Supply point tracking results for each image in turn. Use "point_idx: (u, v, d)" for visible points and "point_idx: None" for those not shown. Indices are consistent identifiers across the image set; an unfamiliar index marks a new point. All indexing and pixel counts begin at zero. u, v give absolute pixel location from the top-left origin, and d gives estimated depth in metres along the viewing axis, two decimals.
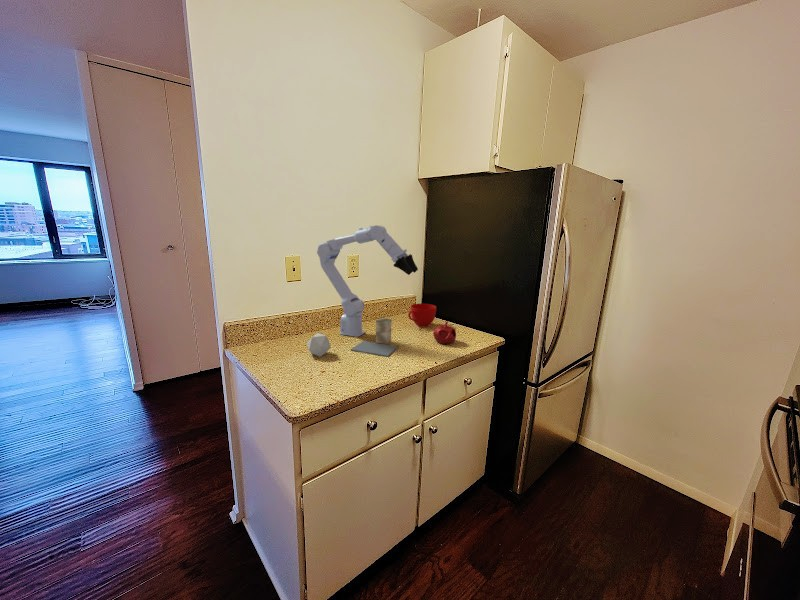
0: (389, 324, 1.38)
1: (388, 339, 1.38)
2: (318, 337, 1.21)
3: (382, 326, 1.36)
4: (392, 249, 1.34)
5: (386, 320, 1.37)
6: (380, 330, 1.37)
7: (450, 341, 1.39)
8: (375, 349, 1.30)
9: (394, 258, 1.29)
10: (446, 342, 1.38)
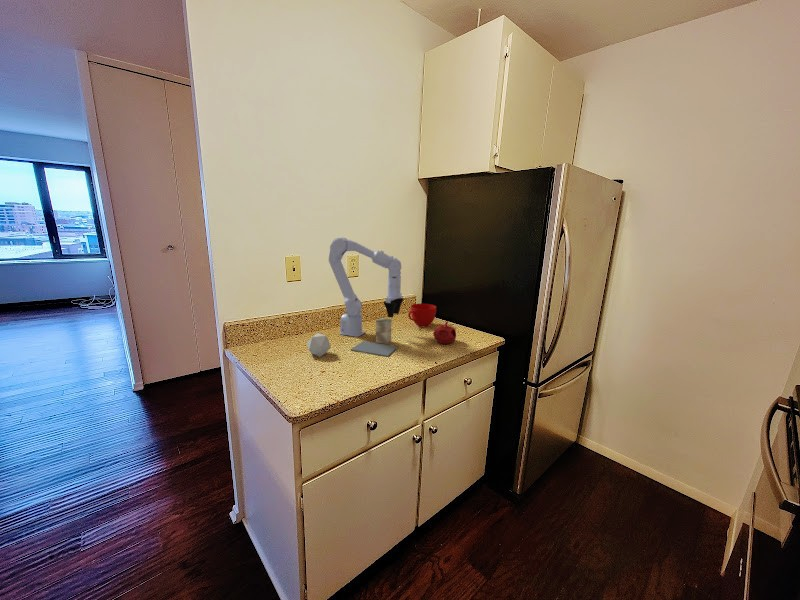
0: (389, 324, 1.38)
1: (388, 339, 1.38)
2: (318, 337, 1.21)
3: (382, 326, 1.36)
4: (393, 289, 1.43)
5: (386, 320, 1.37)
6: (380, 330, 1.37)
7: (450, 341, 1.39)
8: (375, 349, 1.30)
9: (388, 300, 1.40)
10: (446, 342, 1.38)
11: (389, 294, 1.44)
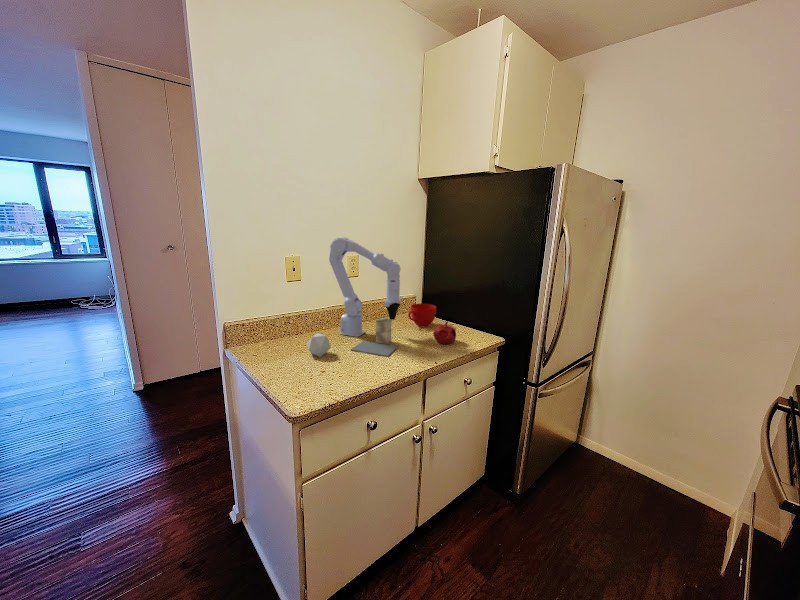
0: (389, 324, 1.38)
1: (388, 339, 1.38)
2: (318, 337, 1.21)
3: (382, 326, 1.36)
4: (392, 293, 1.42)
5: (386, 320, 1.37)
6: (380, 330, 1.37)
7: (450, 341, 1.39)
8: (375, 349, 1.30)
9: (387, 304, 1.39)
10: (446, 342, 1.38)
11: (388, 298, 1.43)
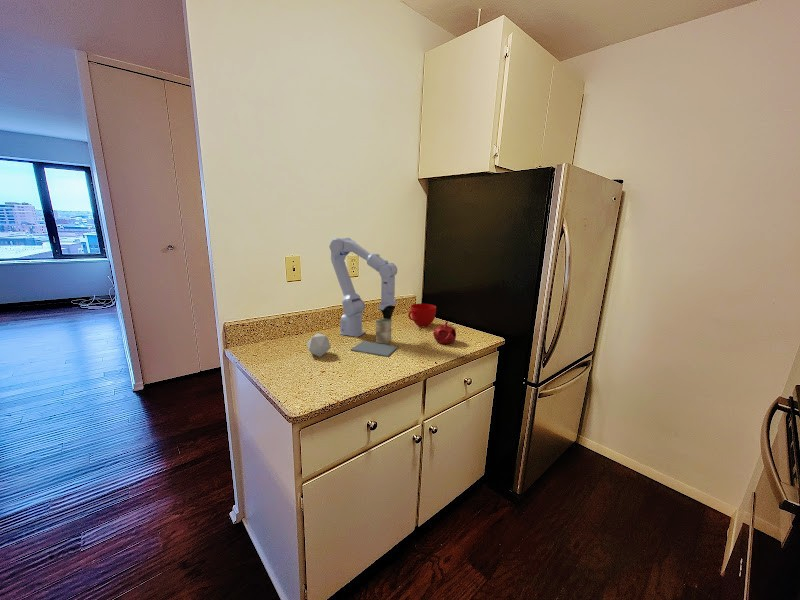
0: (389, 324, 1.38)
1: (388, 339, 1.38)
2: (318, 337, 1.21)
3: (382, 326, 1.36)
4: (386, 295, 1.37)
5: (386, 320, 1.37)
6: (380, 330, 1.37)
7: (450, 341, 1.39)
8: (375, 349, 1.30)
9: (381, 307, 1.33)
10: (446, 342, 1.38)
11: (382, 300, 1.38)
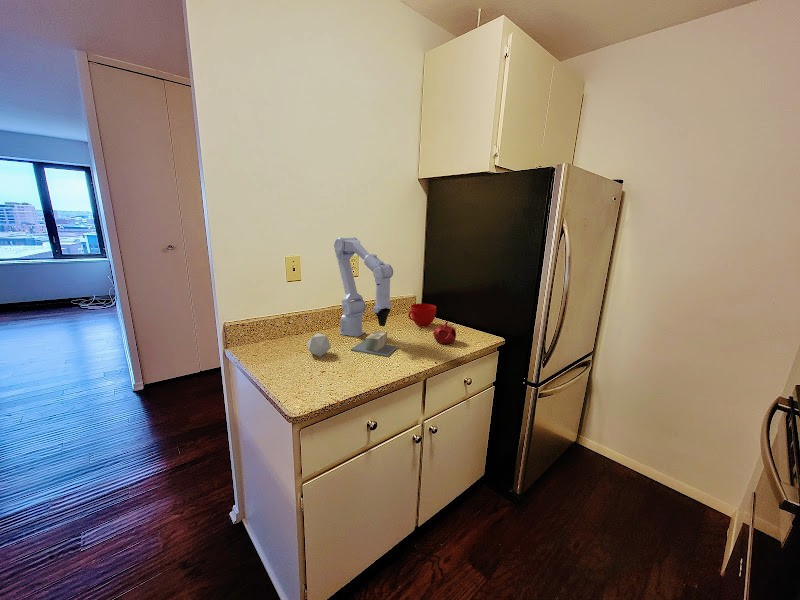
0: (378, 343, 1.29)
1: (384, 341, 1.35)
2: (318, 337, 1.21)
3: None
4: (381, 297, 1.32)
5: (374, 345, 1.28)
6: None
7: (450, 341, 1.39)
8: None
9: (375, 310, 1.28)
10: (446, 342, 1.38)
11: (377, 303, 1.33)
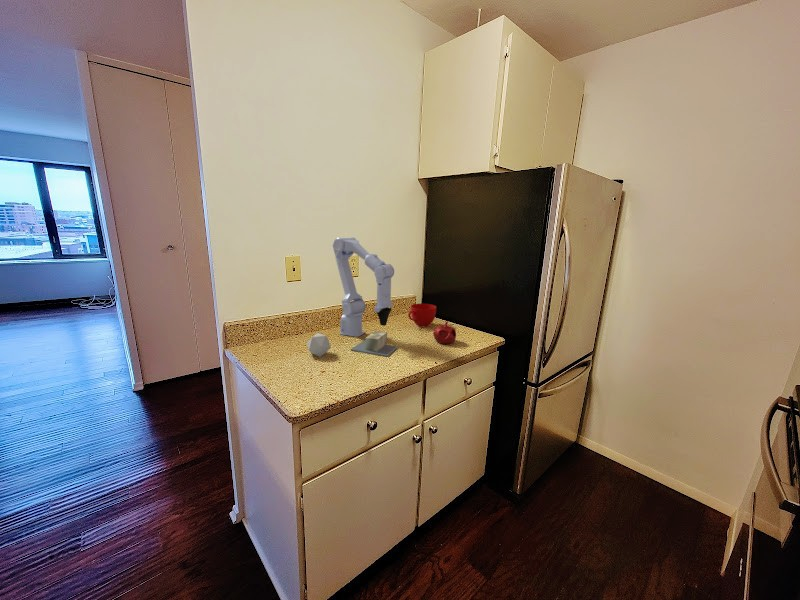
0: (378, 343, 1.29)
1: (384, 341, 1.35)
2: (318, 337, 1.21)
3: None
4: (382, 297, 1.33)
5: (374, 345, 1.28)
6: None
7: (450, 341, 1.39)
8: None
9: (376, 309, 1.29)
10: (446, 342, 1.38)
11: (378, 302, 1.34)
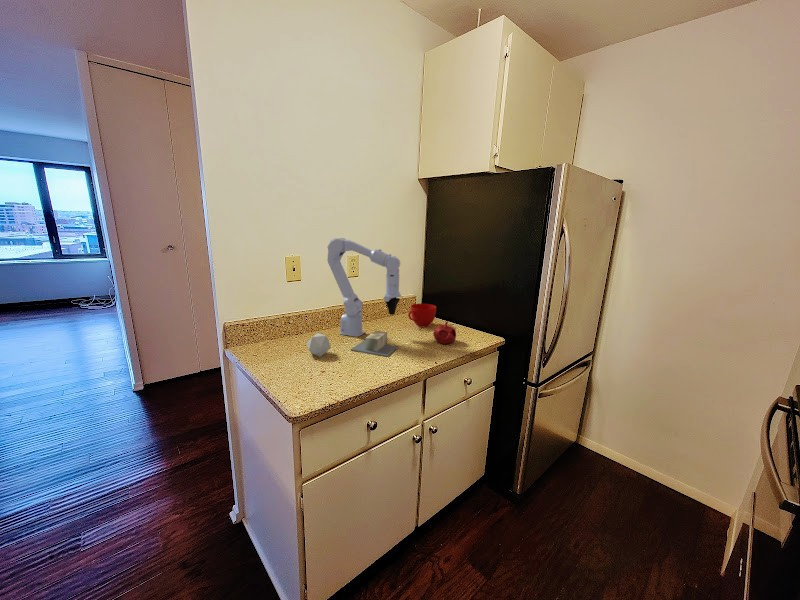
0: (378, 343, 1.29)
1: (384, 341, 1.35)
2: (318, 337, 1.21)
3: None
4: (391, 287, 1.41)
5: (374, 345, 1.28)
6: None
7: (450, 341, 1.39)
8: None
9: (386, 299, 1.38)
10: (446, 342, 1.38)
11: (387, 293, 1.42)
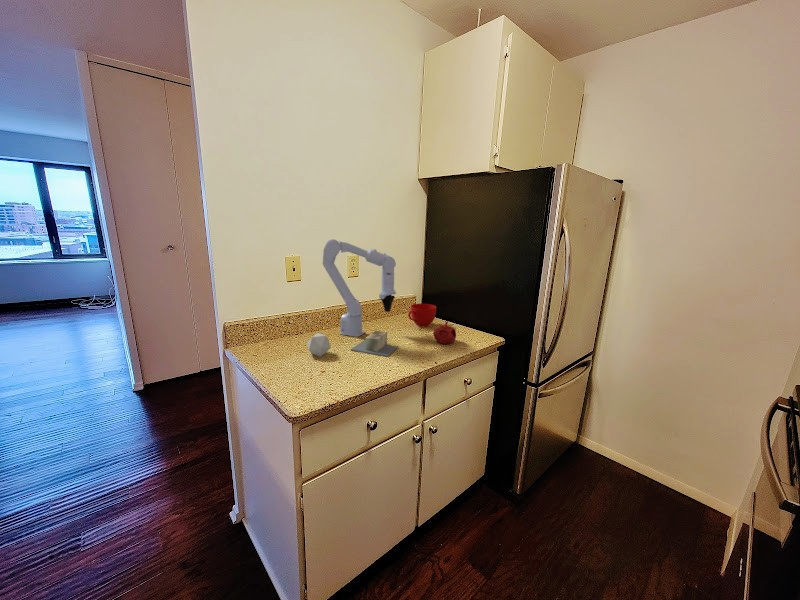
0: (378, 343, 1.29)
1: (384, 341, 1.35)
2: (318, 337, 1.21)
3: None
4: (386, 285, 1.46)
5: (374, 345, 1.28)
6: None
7: (450, 341, 1.39)
8: None
9: (381, 296, 1.43)
10: (446, 342, 1.38)
11: (383, 290, 1.47)
